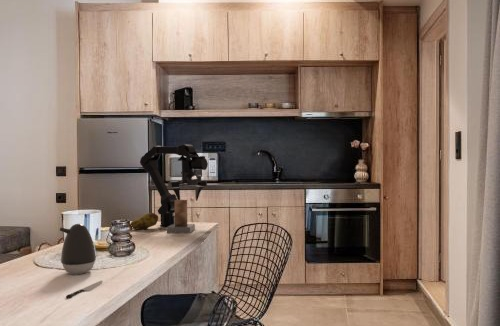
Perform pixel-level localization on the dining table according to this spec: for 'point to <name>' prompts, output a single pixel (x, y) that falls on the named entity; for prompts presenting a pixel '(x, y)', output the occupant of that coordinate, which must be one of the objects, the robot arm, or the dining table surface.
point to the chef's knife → (85, 289)
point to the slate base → (180, 228)
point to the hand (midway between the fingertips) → (188, 201)
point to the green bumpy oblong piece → (145, 221)
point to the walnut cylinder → (180, 212)
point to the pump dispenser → (77, 250)
